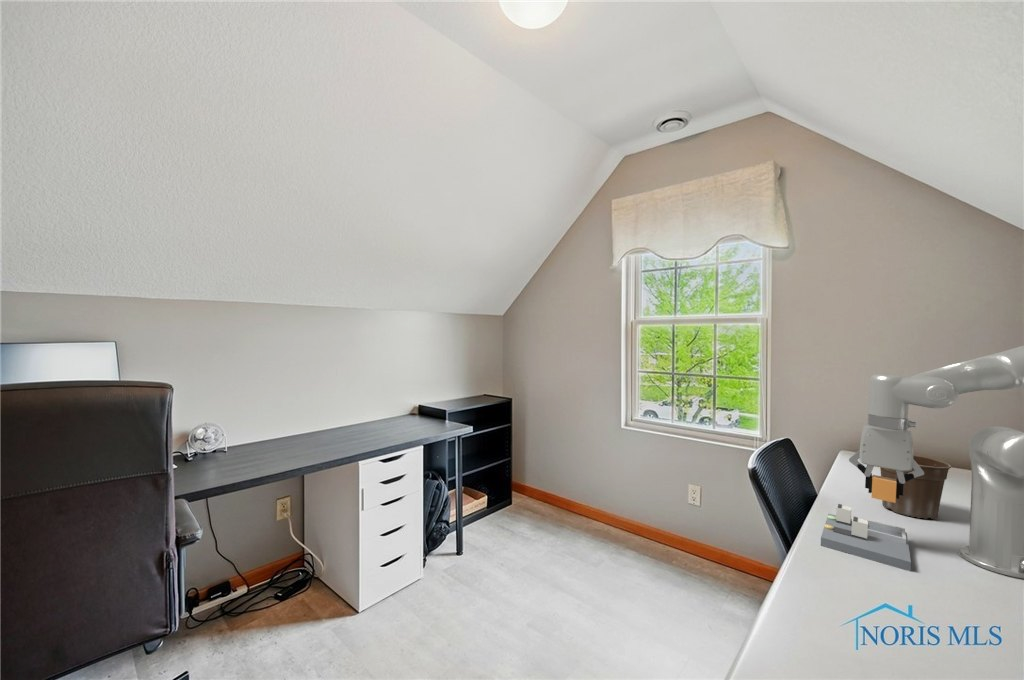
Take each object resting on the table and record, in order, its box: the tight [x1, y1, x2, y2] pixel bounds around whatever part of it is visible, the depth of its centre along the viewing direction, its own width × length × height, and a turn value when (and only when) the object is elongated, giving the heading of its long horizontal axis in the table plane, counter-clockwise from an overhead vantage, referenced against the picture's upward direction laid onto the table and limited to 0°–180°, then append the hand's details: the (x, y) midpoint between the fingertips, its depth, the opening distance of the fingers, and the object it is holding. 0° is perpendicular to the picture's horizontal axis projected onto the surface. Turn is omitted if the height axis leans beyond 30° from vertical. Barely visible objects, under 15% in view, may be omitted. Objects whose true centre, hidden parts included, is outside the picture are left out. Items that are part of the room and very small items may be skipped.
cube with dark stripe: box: [851, 516, 868, 539], centre depth 104 cm, size 3×3×4 cm
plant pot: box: [879, 454, 952, 520], centre depth 126 cm, size 16×16×16 cm
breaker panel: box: [820, 513, 912, 572], centre depth 105 cm, size 20×16×3 cm
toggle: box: [835, 503, 852, 524], centre depth 112 cm, size 3×3×4 cm
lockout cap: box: [870, 474, 897, 503], centre depth 106 cm, size 4×4×5 cm
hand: (883, 493), depth 106 cm, fingers closed on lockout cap, 4 cm apart
